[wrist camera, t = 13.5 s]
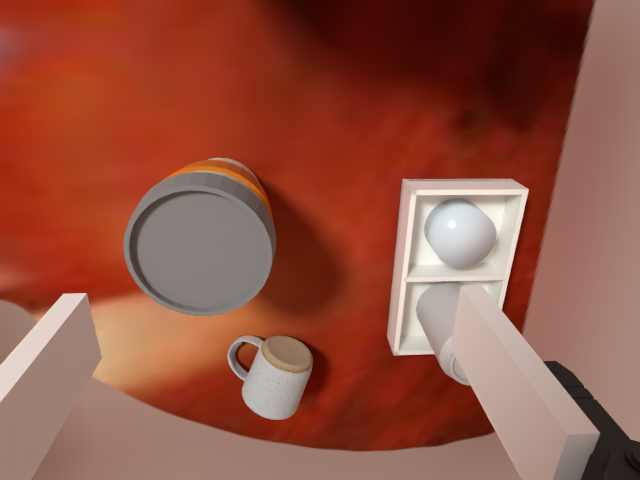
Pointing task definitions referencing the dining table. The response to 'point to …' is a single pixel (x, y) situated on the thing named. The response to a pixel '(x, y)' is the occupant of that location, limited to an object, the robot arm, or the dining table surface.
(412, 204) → the caddy
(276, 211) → the dining table surface
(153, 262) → the reusable coffee cup
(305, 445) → the dining table surface
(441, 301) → the can
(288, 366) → the ceramic mug
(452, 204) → the white dome
